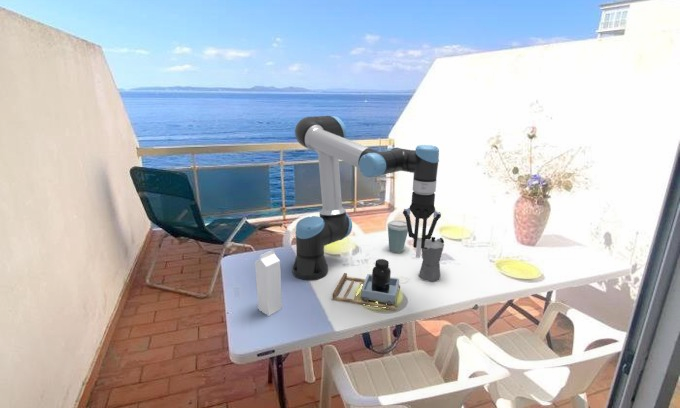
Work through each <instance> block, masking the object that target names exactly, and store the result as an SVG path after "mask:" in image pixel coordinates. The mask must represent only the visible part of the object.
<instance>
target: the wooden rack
mask: <svg viewBox="0 0 680 408" xmlns="http://www.w3.org/2000/svg"><path fill="white" fill-rule="evenodd" d="M365 279H366V278H359V277H352V276H348V273H347V272H344V273H343V274H342V276H341V278H340V279H339V281H338V283H337V285H336V287H335V289H334V290H333V292H332V294H331V295H332V298H331V299H332V301H338V302H343V303H349V304H355V305H362V306H366V305H370V306H369V307H371V306H378V307H386V308H389V309H388V310H390V311H393V312H394V311H396V306H393V305H391V306H389V305H386V304H383V303H378V304H377V303H375V302H373V301H372V302H370V301H368V302H366V301H363V300H360V299H359V300H358V299H357V298H359V297H360V294H358V295H357V296H356V294H355V295H354V298H348V296H349V294H350V292H351V290H352V287H353V286H354V283H355V282H359V283H360V284H359V286H360V285H361V284H364V282H365ZM346 281H350V283H349V285H348V287H347V289H346V291H345V293H344V295H343V297H342V296H339V294H340V292H341V290H342V289H343V286H344V285H345V283H346ZM400 288H401V284H399V288H398V289H400ZM363 304H365V305H363Z"/></svg>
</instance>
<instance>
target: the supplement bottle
mask: <svg viewBox="0 0 680 408" xmlns="http://www.w3.org/2000/svg"><path fill="white" fill-rule="evenodd" d="M374 265H375V266H374V267H373V268H372V270H371V271H372V272H371V273H372V274H371V275H372V287H371V289H372V291H377V292H383V293H388V292H389V288H390V277H391V276H392V275H391V273H392V272H391V268H390V265H389V261H388V260H386V259H384V258H378V259H376V261H375V264H374Z"/></svg>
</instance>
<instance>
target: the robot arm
mask: <svg viewBox="0 0 680 408" xmlns="http://www.w3.org/2000/svg"><path fill="white" fill-rule="evenodd" d="M346 127H347V126H346V125H345V123H344V122H343V121H342V120H341V118H340V117H338V116H334V115H318V116H306V117H303V118H301V119H300V120H298V122H297V124H296V125H295V128H294V135H295V138H296V140H297V142H298V143H299V145H300V146H302V147H304V148H307V149H308V150H311V151H315V152H316V153H317V157H318V168H319V180H320V181H319V182H320V192H321V193H320V194H321V205H322V209H321V210H320V211H319V216H316V215H315V216H314V215H313V216H307V217H303V218H301V219H300V220H299V221H297V223H296V226H295V242H296V243H295V245H296V246H295V247H296V252H295V253H296V256H295V258H294V261H293V265H292V274H293V276H294V275H295V278H297V279H300V280H305V281H315V280H319V279H322V278H324V277H325V276H327V275H328V273H329V265H328V262H327V259H326V256H325V246H327V245H330V244H333V243H335V242H338V241H342V240H344V239H345V238H347V237H348V236H349V235H350V234H351V233H352V231H353V230H352V229H353V220H352V218H351V217H350V215H349V213H347V210H346V209H345V208H344V206H343V202H342V188H341V187H342V186H341V175H340V174H341V173H340V161H342V162H344V163H347V164H349V165H351V166H354V167H356V168H357V169H359V171H360V172H361V173H362V175H363V176H365V177H367V178H377V177H380V176H385V175H389V174H393V173H396V172H397V173H398V172H407V173H410V174H411V173H412V174H413V180H412V191H413V192H412V193H411V203H410V205H409V207H408V208H404V209H403V211H402V214H403V216H404V217H405V222H406V223H407V229H408V233H407V235H408V237H409V238H411V239H413V242H412V243H413V245H412V247H413V248H414V249H415V248H416V249H415V258H417V259H418V258H419V259H420V258H421V255H422V249H424V247H425V240H432V237H433V233H434V230H435V228H436V226H437V223H438V221H439V219H440V218H441V217H442V212H441V211H439V212H438V211H437V210H436V207H435V199H436V194H435V192H436V191H437V190H436V189H437V176H438V167H439V162H440V160H439V159H440V157H439V156H440V149H439V147H437V146H436V145H429V144H428V145H426V144H419V145H417V146H416V147H415V150H414V149H407V148H401V147H388V148H386V150H384V151H378V150H375V149H373V148H370V147H368V146H366V145H363V144H361V143H358V142H356V141H353V140H351V139H348V138H346V137H347V129H346ZM411 213H412V215H413V217H414V218H415V220H414V222H415V223H414V232H413V228H412V227H413V226H412V221H411V220H412V219H411V216H410V214H411ZM432 215H433V219H432V222H431V225H430V227H429V229H428V232H427V226H428V225H427V224H428V222H427V221H428V219H429V218H430V217H431V216H432ZM421 219H422V229H421V230H422V231H421V237H419V227H420V220H421ZM426 233H427V234H426Z"/></svg>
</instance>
